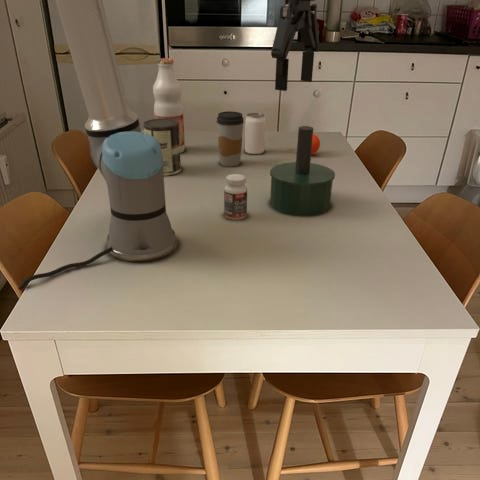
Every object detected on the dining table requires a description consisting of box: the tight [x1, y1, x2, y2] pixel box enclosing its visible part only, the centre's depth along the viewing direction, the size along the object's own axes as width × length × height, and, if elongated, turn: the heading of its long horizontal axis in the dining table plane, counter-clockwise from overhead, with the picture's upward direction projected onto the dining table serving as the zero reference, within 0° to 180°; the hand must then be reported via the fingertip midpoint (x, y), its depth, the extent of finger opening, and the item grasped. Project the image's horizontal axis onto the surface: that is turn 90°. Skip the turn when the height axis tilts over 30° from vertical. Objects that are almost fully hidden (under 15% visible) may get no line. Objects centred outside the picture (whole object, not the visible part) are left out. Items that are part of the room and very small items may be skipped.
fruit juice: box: [152, 57, 186, 154], centre depth 166 cm, size 9×9×28 cm
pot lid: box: [269, 125, 336, 186], centre depth 128 cm, size 17×17×12 cm
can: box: [244, 112, 266, 156], centre depth 170 cm, size 6×6×12 cm
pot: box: [269, 176, 334, 217], centre depth 134 cm, size 16×16×8 cm
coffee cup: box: [216, 110, 245, 167], centre depth 159 cm, size 8×8×15 cm
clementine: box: [311, 133, 321, 156], centre depth 170 cm, size 8×7×7 cm
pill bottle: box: [223, 173, 248, 221], centre depth 126 cm, size 6×6×10 cm
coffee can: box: [142, 118, 182, 177], centre depth 153 cm, size 10×10×14 cm
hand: (294, 85), depth 123 cm, fingers open, 13 cm apart
